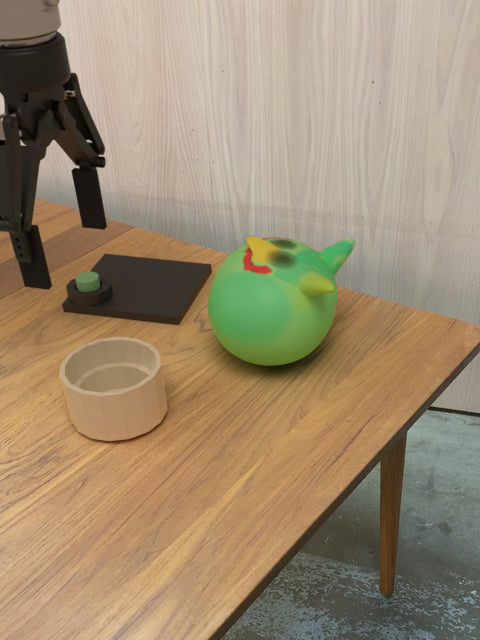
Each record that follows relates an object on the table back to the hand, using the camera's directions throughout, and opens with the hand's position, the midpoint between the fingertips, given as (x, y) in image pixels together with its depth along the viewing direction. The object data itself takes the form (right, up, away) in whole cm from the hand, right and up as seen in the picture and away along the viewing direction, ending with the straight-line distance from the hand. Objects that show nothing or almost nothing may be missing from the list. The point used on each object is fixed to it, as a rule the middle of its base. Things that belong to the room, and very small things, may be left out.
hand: (68, 255), depth 84 cm
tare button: (-3, +2, +25) cm, 25 cm away
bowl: (+4, -16, +8) cm, 19 cm away
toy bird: (+23, -7, +17) cm, 29 cm away
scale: (+3, +3, +29) cm, 29 cm away
